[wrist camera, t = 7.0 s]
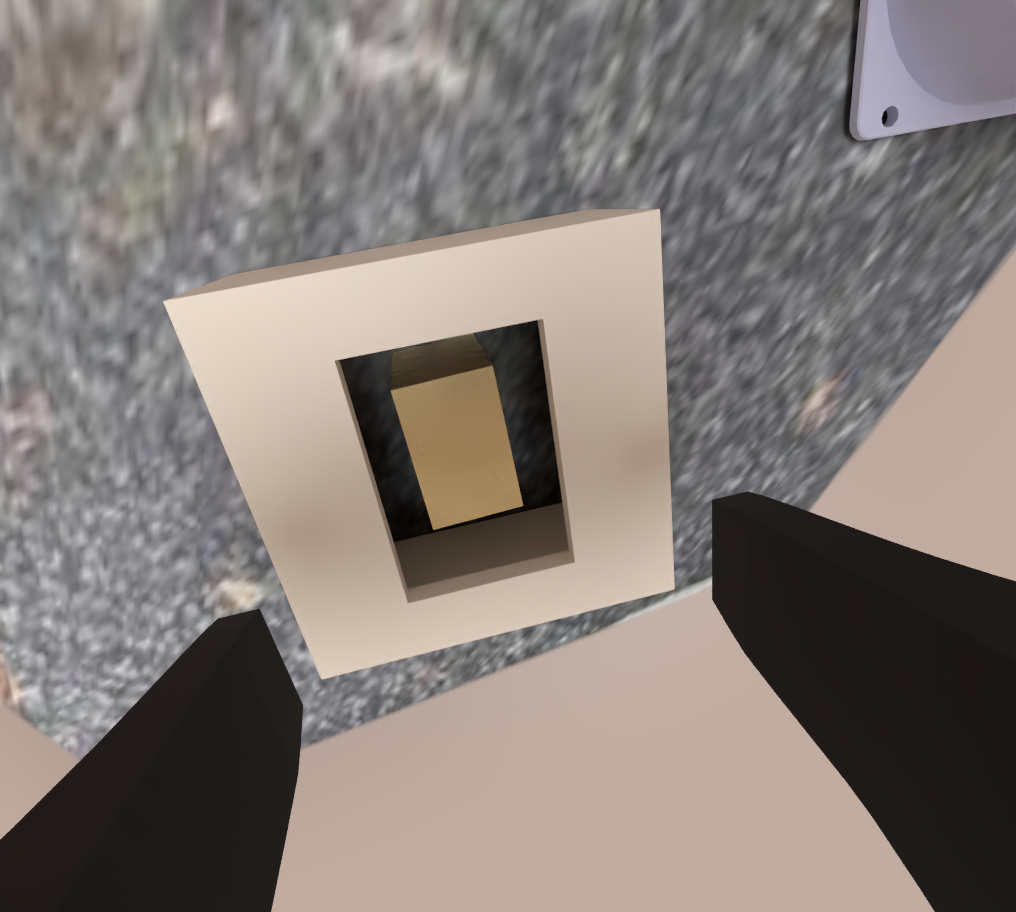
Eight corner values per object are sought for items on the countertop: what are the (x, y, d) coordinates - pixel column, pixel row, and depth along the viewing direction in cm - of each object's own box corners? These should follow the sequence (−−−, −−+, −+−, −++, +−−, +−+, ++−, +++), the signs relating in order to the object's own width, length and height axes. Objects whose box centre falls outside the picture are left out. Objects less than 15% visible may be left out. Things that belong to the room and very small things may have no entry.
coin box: (586, 209, 16) (659, 208, 12) (613, 505, 20) (674, 588, 16) (233, 274, 15) (163, 301, 11) (339, 570, 19) (321, 679, 15)
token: (472, 332, 17) (493, 365, 13) (499, 448, 19) (523, 505, 15) (392, 351, 17) (390, 390, 13) (426, 467, 18) (433, 529, 15)
